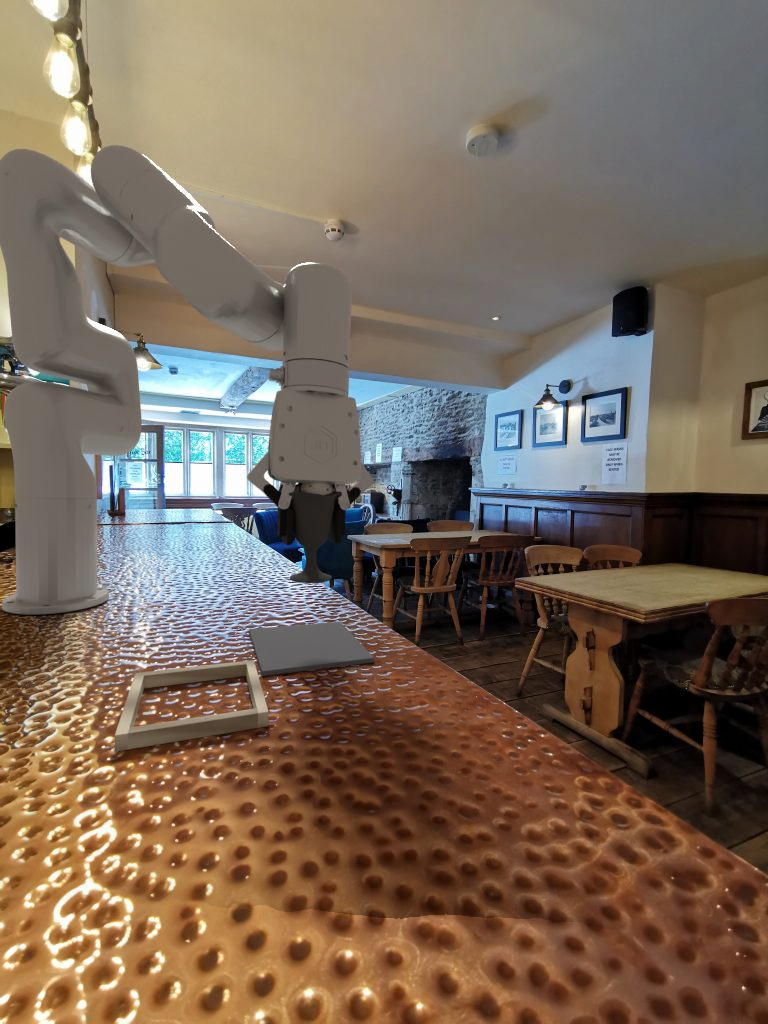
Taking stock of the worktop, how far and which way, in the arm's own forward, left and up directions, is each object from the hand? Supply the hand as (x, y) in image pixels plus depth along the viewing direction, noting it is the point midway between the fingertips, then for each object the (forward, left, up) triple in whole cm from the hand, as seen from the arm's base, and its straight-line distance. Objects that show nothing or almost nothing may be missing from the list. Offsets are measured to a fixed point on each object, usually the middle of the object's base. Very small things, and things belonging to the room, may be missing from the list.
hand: (311, 541), depth 52 cm
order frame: (+10, -12, -13) cm, 20 cm away
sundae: (0, 0, -5) cm, 5 cm away
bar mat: (0, 0, -13) cm, 13 cm away
